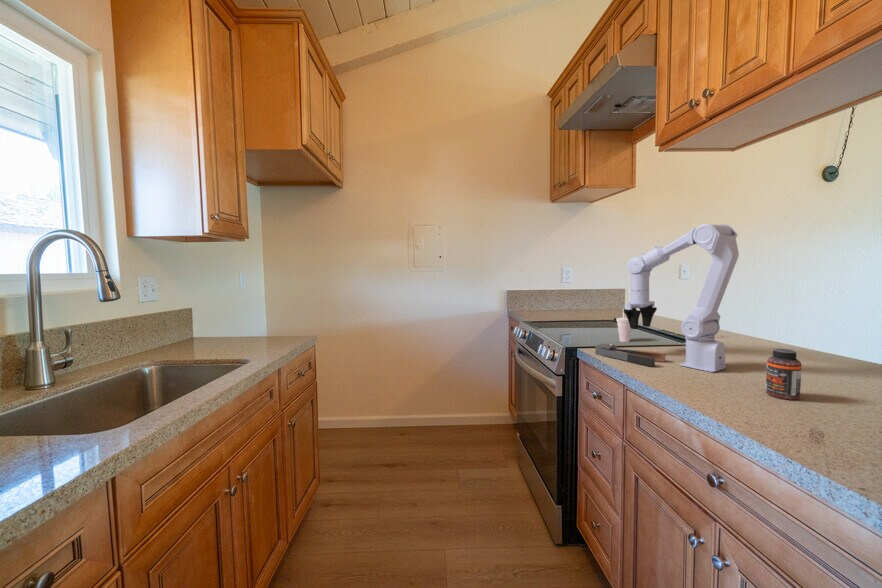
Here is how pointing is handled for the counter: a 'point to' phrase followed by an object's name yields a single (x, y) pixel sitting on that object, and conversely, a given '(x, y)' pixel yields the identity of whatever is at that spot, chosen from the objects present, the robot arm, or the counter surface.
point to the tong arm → (645, 353)
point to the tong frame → (623, 355)
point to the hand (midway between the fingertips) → (640, 327)
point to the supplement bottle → (783, 375)
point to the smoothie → (623, 329)
